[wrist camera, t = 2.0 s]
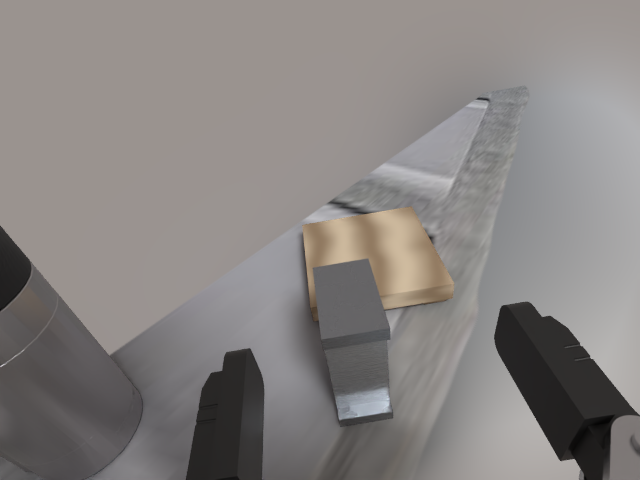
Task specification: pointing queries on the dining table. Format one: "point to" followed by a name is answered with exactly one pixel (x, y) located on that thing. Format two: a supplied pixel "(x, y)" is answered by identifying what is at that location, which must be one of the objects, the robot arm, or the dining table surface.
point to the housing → (354, 340)
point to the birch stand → (381, 256)
